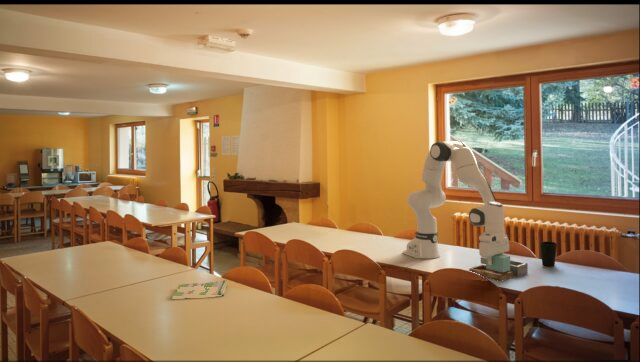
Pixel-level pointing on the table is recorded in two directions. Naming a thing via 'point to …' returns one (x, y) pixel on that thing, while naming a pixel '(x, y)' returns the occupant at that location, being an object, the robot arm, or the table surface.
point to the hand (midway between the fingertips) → (494, 263)
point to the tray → (491, 273)
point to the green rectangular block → (498, 263)
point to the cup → (548, 253)
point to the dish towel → (215, 284)
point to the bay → (518, 268)
